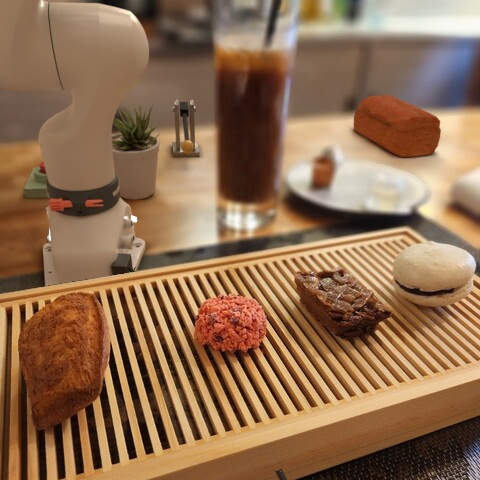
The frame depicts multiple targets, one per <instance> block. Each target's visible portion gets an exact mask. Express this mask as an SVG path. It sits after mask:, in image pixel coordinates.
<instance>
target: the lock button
mask: <svg viewBox="0 0 480 480" xmlns="http://www.w3.org/2000/svg"><path fill="white" fill-rule="evenodd" d="M39 166H40V170H41V173H44V174H46V170H45V166H44V162H43V161H40V162H39V165H38V167H39Z"/></svg>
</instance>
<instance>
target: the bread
mask: <svg viewBox="0 0 480 480" xmlns="http://www.w3.org/2000/svg"><path fill="white" fill-rule="evenodd" d="M353 115H354V116H353V130H354V131H356V132H357V133H358V134H360V135H362V136H363V137H365V138H367V139H368V140H370V141H372V142H373V143H376V144H377V145H379V146H381V147H382V148H384V149H385V150H387V151H388V152H390V153H392V154H394V155H395V156H398V157H402V158H403V157H404V158H406V157H407V158H412V157H421V156H430V155H431V154H434V152H435V151H436V150H437V148H438V147H439V143H440V139H441V133H442V129H441V120H440V119H439V118H438V116H436V115H434V114H432V113H431V112H428V111H426V110H424V109H422V108H420V107H418V106H416V105H413V104H412V103H408V102H406V101H404V100H401V99H400V98H397V97H395V96H393V95H391V94H381V95H369V96H367V97H366V98H363V99H362V100H360V102H359V105H358V107H357V108H356V110H355V111H354V114H353Z"/></svg>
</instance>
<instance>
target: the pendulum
mask: <svg viewBox="0 0 480 480" xmlns="http://www.w3.org/2000/svg"><path fill="white" fill-rule="evenodd" d="M171 108H172V113H174V131H175V141H172V142H171V143H172V144H171V145H172V155H173V157H174V158H175V157H177V158H178V157H179V158H180V157H181V158H182V157H200V149H199V145H198V141H196V134H195V133H196V129H195V128H196V125H195V124H196V123H195V113H196V112H197V108H196V106H195V103H194V99H189V100H188V108H189V140H190V141H191V142H192V143H193V145H194V150H193V151H192V152H191V153H189V154H186V153H184V152H183V151H182V149H181V145H182V143H183V141H181V132H180V131H181V130H180V105H179V100H178V99H173V106H172V107H171Z"/></svg>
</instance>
